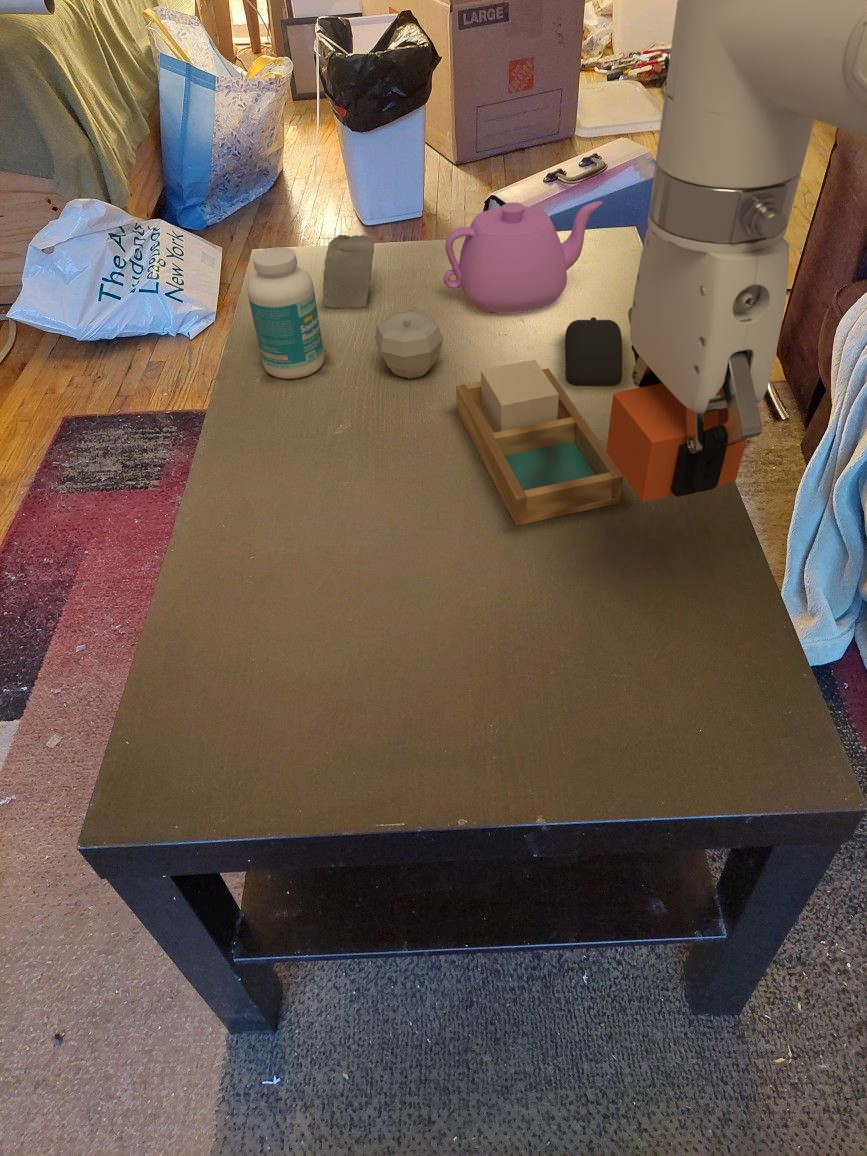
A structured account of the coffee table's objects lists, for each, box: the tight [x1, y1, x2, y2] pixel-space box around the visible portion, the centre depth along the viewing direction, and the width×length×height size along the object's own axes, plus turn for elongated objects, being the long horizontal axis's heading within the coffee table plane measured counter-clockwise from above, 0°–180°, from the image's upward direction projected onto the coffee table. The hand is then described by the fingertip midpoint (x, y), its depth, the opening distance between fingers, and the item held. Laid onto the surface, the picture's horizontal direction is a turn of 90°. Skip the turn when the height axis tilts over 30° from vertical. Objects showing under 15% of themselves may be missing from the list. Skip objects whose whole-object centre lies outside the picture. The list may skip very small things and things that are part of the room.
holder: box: [455, 367, 625, 527], centre depth 85 cm, size 10×20×3 cm, turn 15°
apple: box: [374, 310, 444, 380], centre depth 97 cm, size 8×8×7 cm
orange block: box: [605, 383, 748, 503], centre depth 57 cm, size 7×6×5 cm
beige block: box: [480, 359, 559, 433], centre depth 87 cm, size 6×7×5 cm
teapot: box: [443, 200, 604, 314], centre depth 106 cm, size 20×13×12 cm, turn 97°
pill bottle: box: [246, 246, 325, 380], centre depth 96 cm, size 8×7×14 cm
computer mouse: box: [564, 316, 623, 387], centre depth 97 cm, size 6×11×4 cm, turn 174°
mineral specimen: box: [322, 234, 375, 309], centre depth 110 cm, size 7×9×8 cm
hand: (670, 459), depth 59 cm, fingers closed on orange block, 6 cm apart
